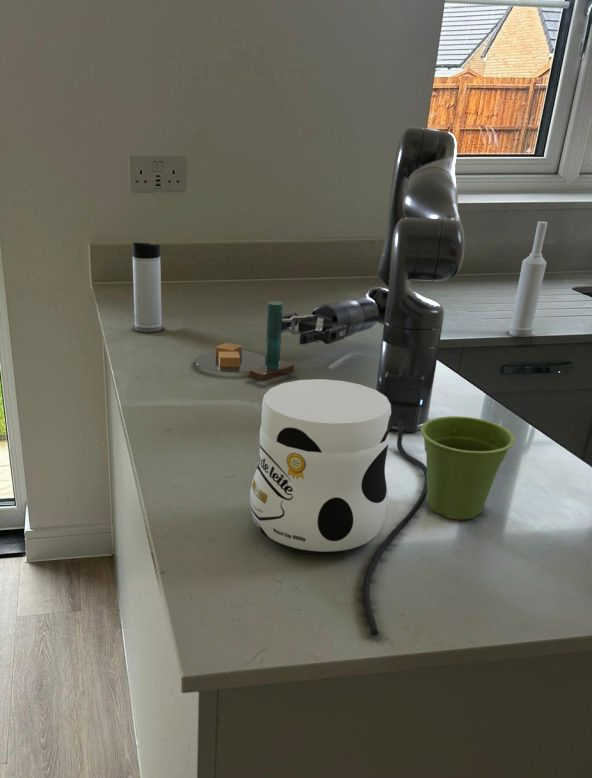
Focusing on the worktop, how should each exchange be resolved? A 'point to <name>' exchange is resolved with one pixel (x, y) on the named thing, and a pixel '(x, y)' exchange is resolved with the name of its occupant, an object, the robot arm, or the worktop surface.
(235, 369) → the turntable plate
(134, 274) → the travel mug
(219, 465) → the worktop surface
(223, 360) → the block
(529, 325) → the bottle
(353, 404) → the milk container
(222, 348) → the crust
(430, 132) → the robot arm
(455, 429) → the plant pot
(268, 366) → the peg on stand
